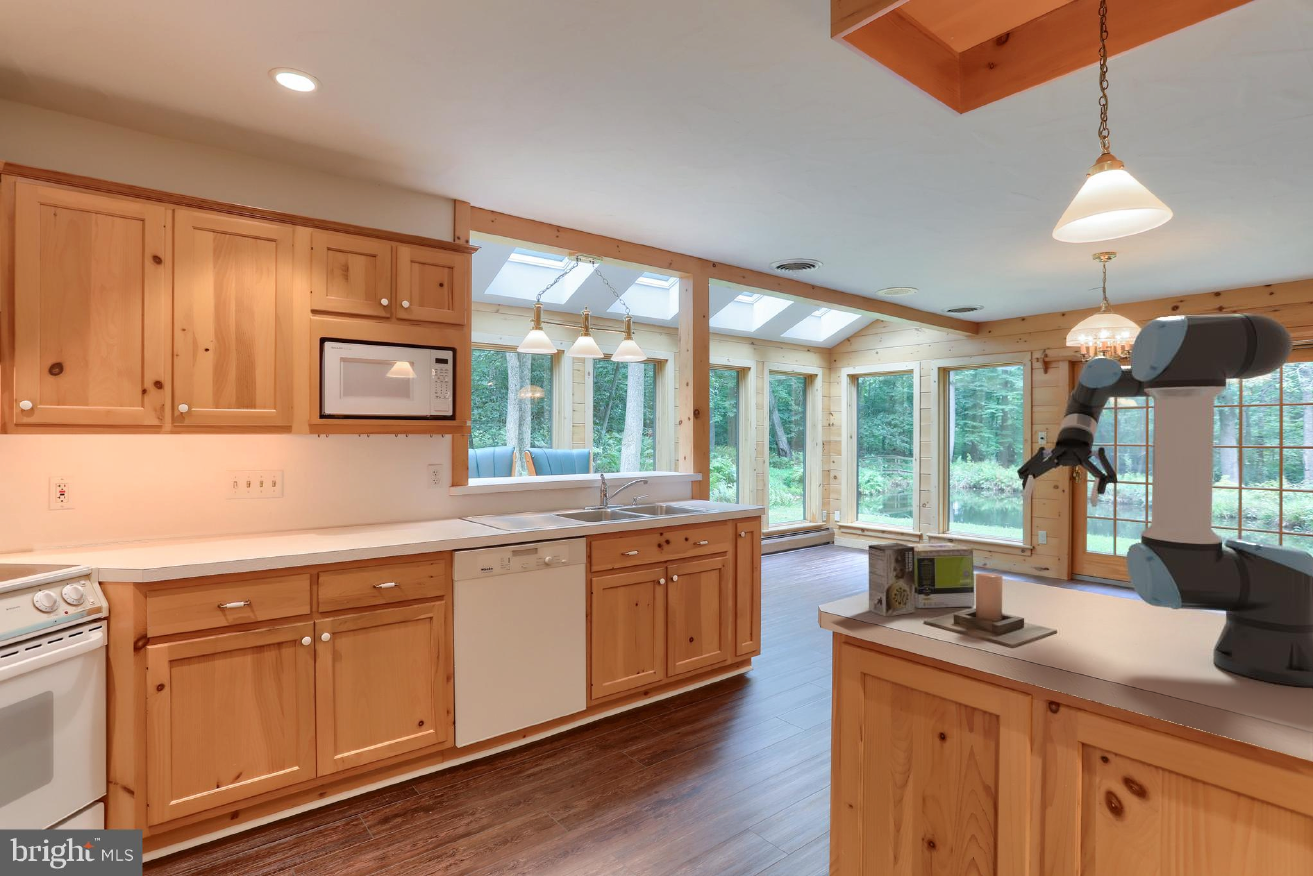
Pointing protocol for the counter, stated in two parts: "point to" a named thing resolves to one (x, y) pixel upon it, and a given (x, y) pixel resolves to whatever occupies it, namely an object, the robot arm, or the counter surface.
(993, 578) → the tall mauve pillar
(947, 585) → the tea box
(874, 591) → the coffee box
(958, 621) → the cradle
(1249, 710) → the counter surface
